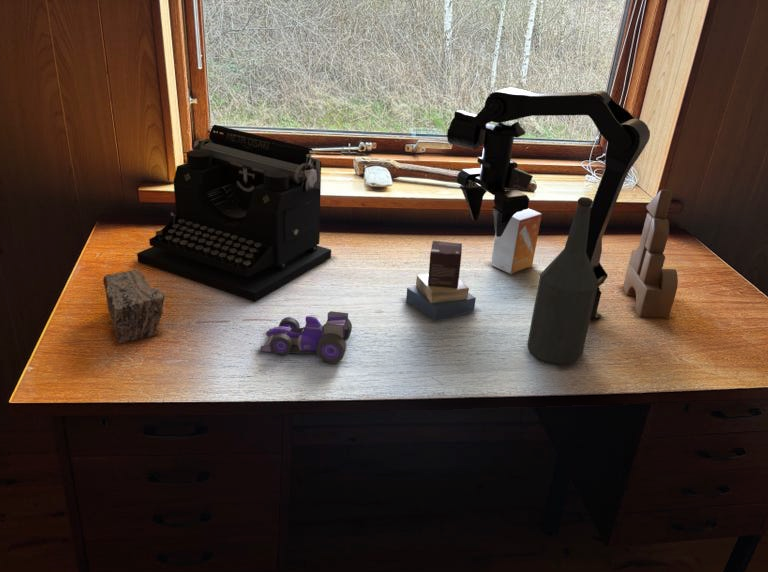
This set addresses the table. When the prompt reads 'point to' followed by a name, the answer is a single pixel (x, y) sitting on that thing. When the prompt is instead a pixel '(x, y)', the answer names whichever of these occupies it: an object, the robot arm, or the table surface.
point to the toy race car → (311, 337)
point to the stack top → (441, 290)
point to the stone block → (133, 305)
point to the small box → (517, 242)
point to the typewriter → (242, 215)
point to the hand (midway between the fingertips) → (486, 228)
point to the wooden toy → (652, 263)
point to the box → (444, 264)
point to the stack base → (439, 305)
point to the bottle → (565, 298)
